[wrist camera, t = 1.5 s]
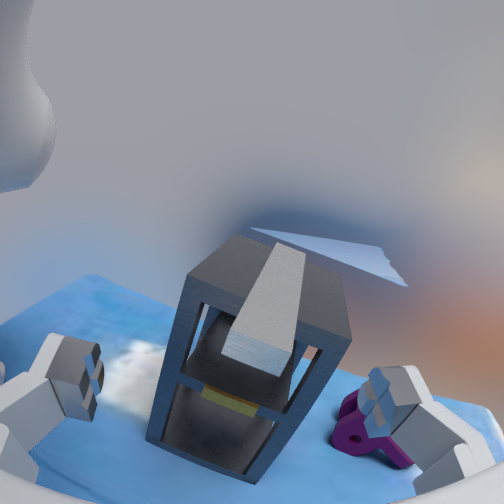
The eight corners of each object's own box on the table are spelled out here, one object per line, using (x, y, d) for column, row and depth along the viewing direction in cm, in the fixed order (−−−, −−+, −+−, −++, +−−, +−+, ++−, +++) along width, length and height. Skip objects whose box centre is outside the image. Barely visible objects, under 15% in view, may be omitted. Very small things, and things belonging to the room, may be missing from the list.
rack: (143, 442, 36) (184, 276, 28) (191, 368, 55) (236, 233, 47) (254, 488, 35) (352, 343, 27) (274, 402, 53) (339, 274, 46)
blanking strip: (220, 353, 20) (230, 328, 19) (271, 256, 43) (276, 242, 42) (279, 376, 20) (291, 353, 19) (300, 267, 42) (305, 253, 42)
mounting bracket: (381, 457, 52) (332, 403, 55) (417, 439, 49) (369, 382, 51) (377, 489, 44) (322, 434, 46) (417, 472, 40) (365, 413, 43)
